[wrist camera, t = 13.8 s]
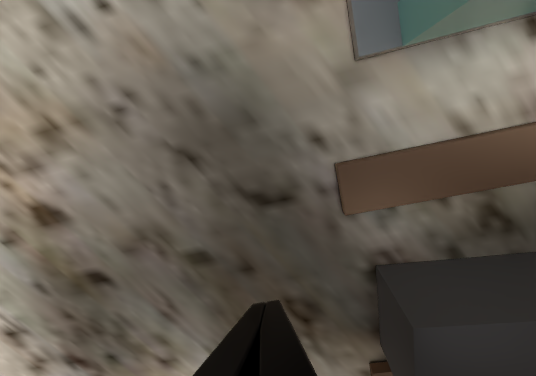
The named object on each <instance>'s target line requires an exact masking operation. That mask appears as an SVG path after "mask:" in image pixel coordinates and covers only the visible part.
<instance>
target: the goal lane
mask: <svg viewBox="0 0 536 376" xmlns="http://www.w3.org/2000/svg"><path fill="white" fill-rule="evenodd" d="M335 168H336V174H337V180H338V185H339V191H340V197H341V203H342V208H343V212H344V214H345V215H351V214H357V213H362V212H368V211H373V210H379V209H384V208H390V207H395V206H401V205H406V204H412V203H417V202H423V201H428V200H434V199H439V198H445V197H450V196H456V195H461V194H467V193H472V192H478V191H483V190H489V189H494V188H500V187H505V186H511V185H516V184H522V183H527V182H533V181H536V122H534V123H529V124H524V125H519V126H514V127H509V128H505V129H500V130H495V131H490V132H485V133H480V134H476V135H471V136H466V137H461V138H456V139H451V140H447V141H442V142H437V143H432V144H427V145H423V146H418V147H413V148H408V149H403V150H398V151H394V152H389V153H384V154H379V155H374V156H369V157H365V158H360V159H355V160H350V161H345V162H341V163H336V164H335ZM369 364H370V370H371V376H393V374H392V371H391V369H390V366H389V364H388V361H387V362H378V363H369Z"/></svg>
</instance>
